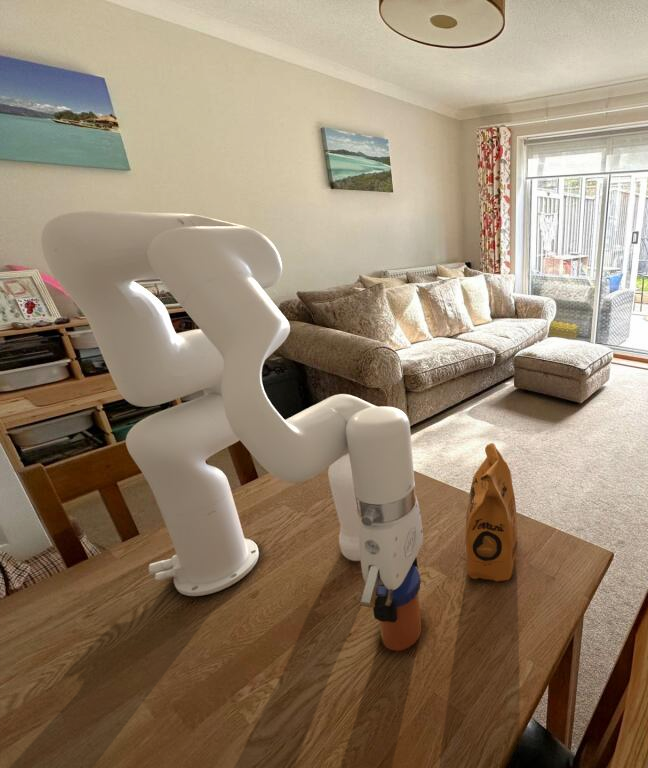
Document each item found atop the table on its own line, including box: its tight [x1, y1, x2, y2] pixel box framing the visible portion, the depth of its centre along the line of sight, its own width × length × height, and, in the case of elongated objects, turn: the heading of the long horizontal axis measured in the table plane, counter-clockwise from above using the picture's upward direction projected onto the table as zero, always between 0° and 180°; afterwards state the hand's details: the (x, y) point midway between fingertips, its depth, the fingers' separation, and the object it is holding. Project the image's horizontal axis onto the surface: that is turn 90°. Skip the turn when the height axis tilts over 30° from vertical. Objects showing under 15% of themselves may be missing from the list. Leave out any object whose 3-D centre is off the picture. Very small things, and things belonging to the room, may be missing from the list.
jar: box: [378, 593, 422, 652], centre depth 61 cm, size 6×6×10 cm
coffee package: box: [464, 442, 518, 583], centre depth 73 cm, size 10×12×22 cm
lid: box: [378, 564, 422, 607], centre depth 59 cm, size 7×7×2 cm
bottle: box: [327, 454, 361, 562], centre depth 73 cm, size 8×8×30 cm
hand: (397, 595), depth 60 cm, fingers closed on lid, 6 cm apart
